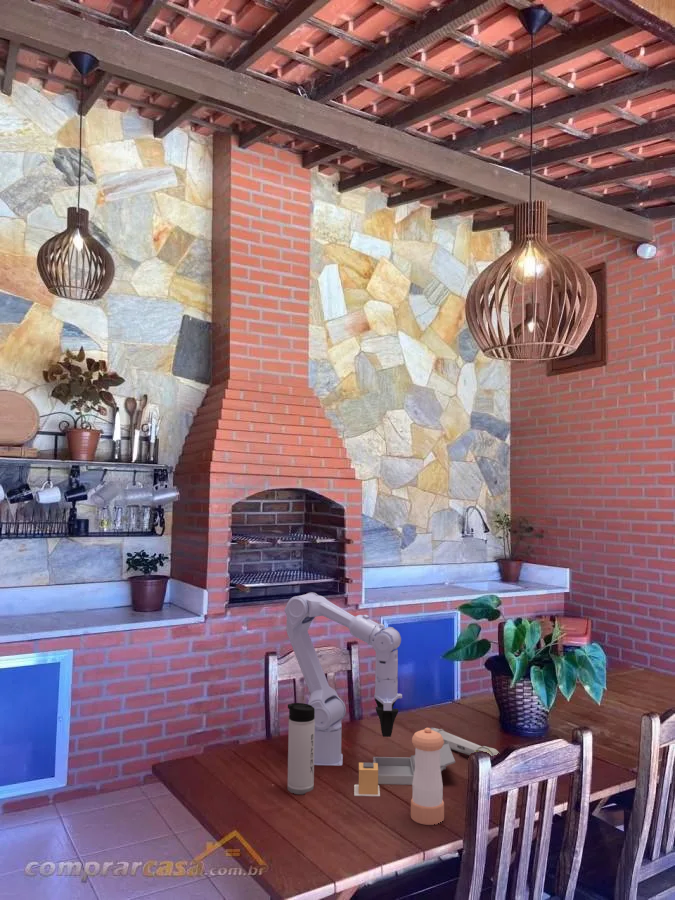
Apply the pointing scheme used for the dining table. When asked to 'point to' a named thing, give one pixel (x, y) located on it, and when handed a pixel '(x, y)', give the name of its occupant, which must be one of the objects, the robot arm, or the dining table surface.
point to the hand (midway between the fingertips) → (385, 731)
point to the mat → (356, 793)
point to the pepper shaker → (427, 778)
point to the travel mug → (301, 748)
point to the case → (406, 767)
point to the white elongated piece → (463, 744)
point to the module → (368, 778)
